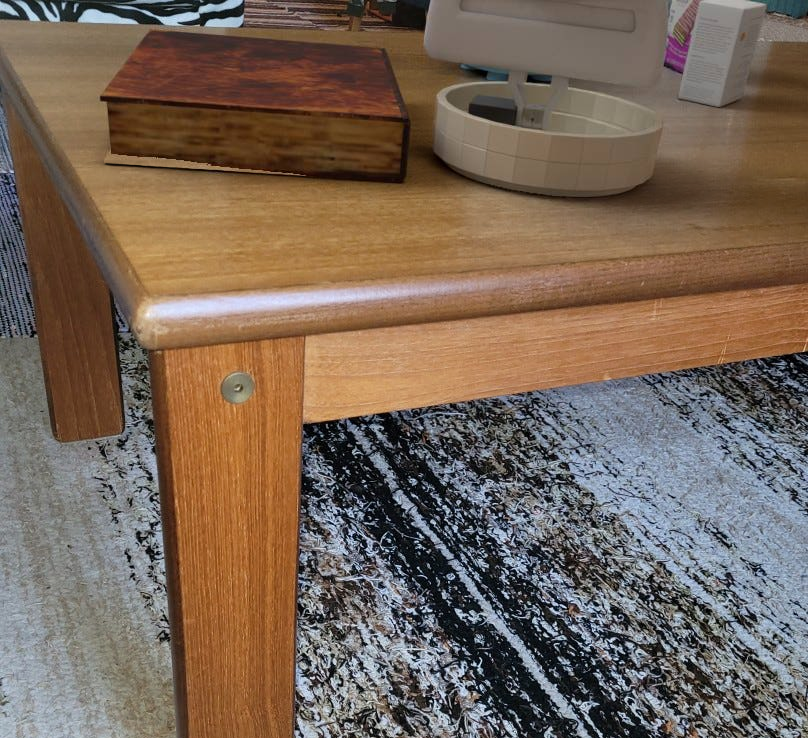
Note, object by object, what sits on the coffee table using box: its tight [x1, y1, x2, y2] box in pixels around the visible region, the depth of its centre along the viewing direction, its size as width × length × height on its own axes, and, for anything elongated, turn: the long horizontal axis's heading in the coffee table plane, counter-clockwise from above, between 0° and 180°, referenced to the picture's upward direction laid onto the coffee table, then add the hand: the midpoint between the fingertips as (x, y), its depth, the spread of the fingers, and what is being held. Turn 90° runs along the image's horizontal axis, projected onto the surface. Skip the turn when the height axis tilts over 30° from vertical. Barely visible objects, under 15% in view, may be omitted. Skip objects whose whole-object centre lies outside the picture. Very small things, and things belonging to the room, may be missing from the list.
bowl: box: [431, 80, 664, 198], centre depth 87 cm, size 20×20×5 cm
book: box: [99, 28, 412, 184], centre depth 90 cm, size 30×24×5 cm
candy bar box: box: [663, 0, 749, 74], centre depth 129 cm, size 11×5×16 cm, turn 17°
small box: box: [677, 0, 768, 108], centre depth 117 cm, size 8×6×10 cm
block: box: [468, 94, 518, 126], centre depth 87 cm, size 4×4×4 cm
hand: (531, 128), depth 87 cm, fingers closed
